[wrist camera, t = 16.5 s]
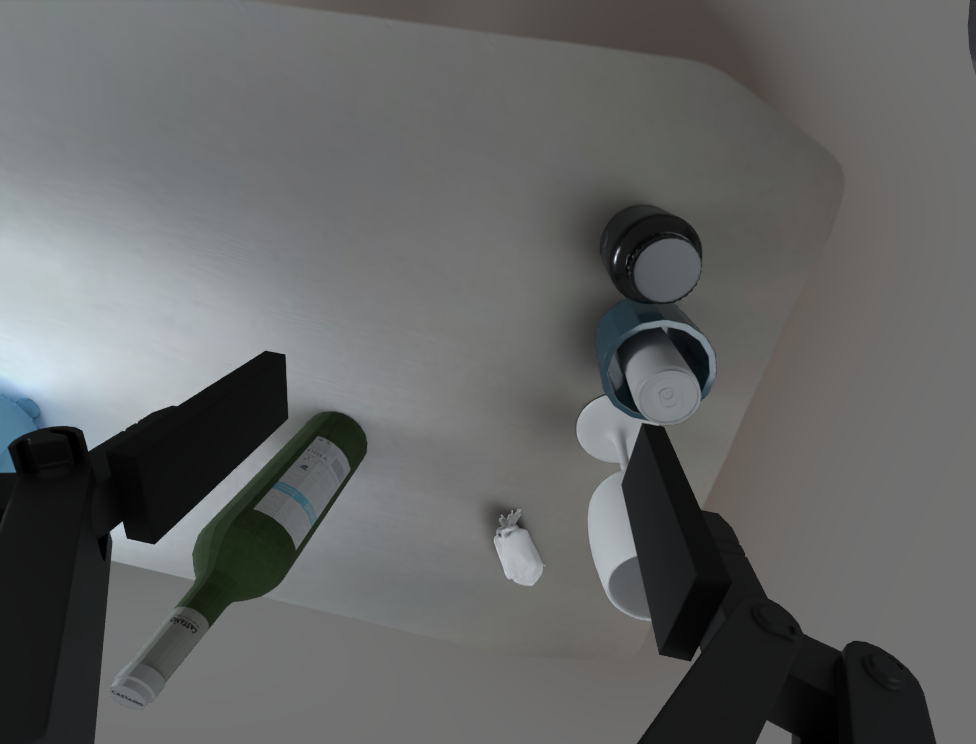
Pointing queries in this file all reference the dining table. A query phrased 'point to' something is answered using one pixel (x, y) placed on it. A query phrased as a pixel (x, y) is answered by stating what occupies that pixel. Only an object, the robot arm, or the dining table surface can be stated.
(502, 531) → the white oblong lump
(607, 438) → the wineglass
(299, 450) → the wine bottle
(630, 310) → the cup
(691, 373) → the beverage can
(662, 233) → the supplement bottle
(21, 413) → the teapot
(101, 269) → the dining table surface
